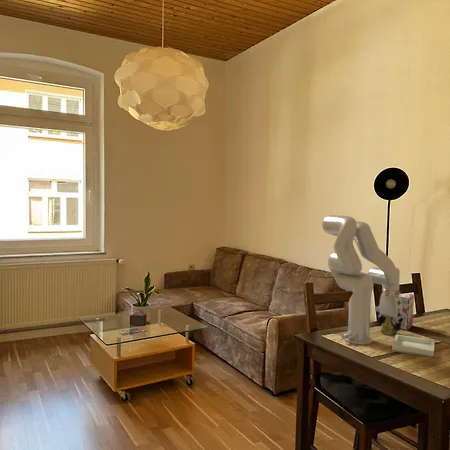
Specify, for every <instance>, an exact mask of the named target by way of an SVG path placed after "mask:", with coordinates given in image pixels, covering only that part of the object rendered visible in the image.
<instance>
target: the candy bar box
mask: <svg viewBox="0 0 450 450" xmlns="http://www.w3.org/2000/svg"><path fill="white" fill-rule="evenodd" d="M399 296H400V297H401V302H402V312H403V313H405V314H406V318H405V319H404V320H403V321H402V322H401V329H400V330H403V331H408V330H409V329H410V328H411V327H412V326H413V323H414V322H413V320H414V318H413V317H414V302H415V294H411V293H403V294H401V295H399ZM401 317H402V316H400V318H401Z"/></svg>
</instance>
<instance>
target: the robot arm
mask: <svg viewBox="0 0 450 450" xmlns="http://www.w3.org/2000/svg"><path fill="white" fill-rule="evenodd" d="M321 226H322V230H323V231H324V232H325V233H327V234H328V235H332V236H335V237H336V238H335V241H334V242H333V251H334V252H332V253H331V254H330V255H329V257H328V260H327V265H328V269H329V270H330V273H331V275H332V276H333V278H334V280H335V282H336V284H337V286H338V288H340V289H342V290H345V291H350V292H352V294H351V296H350V298H349V301H348V321H347V330H346V333H343V334H341V336H340V337H341V339H342V340H345V342H347V343H350V344H354V345H371V344H373V342H374V339H373V337H371V336H370V333H371V305H372V303H371V302H372V295H373V294H372V293H373V290H374V285H375V284H376V285H381V287H382V293H381V295H380V297H379V305H378V306H375V307H374V311H375V313H376V315H377V318H378V326H379V327H382V326H381V324H382V323H383V322H385V316H384V315H387V316H390V317H393V319H394V320H395V322H394V323H395V331H397V332H399V331H401V330H402V329H401V322H402V321H403V320H404V319H405V318H406V314H405V313H403V312H402V302H401V297H400V296H402V292H400V275H401V274H400V273H401V272H400V269H399V268H398V267H396V265H395V264H394V262H393V260H392V259H391V258H390V256H388V255H387V254H386V253H385V252H384V251H382V250H381V249H380V248H379V245H378V244H377V240H376V238H375V236H374V234H373V231H372V228H371V227H370V225H369V224H368V223H366V222H364V221H357V220H356V219H355V218H354V217H352V216H348V215H335V214H334V215H333V214H329V215H327V216H325V217H324V218H323V219H322V222H321ZM354 242H355V244H356V247H357V248H358V252H359V254H360V255H361V257H362V258H364V259H365V260H366V261H368V262H371V263H372V264H374V265H375V267H372V268H370V269H369V270H368V271H367V273H365V272H362V270H363V264H362V260H361V259H360V256H359V255H358V253H357V251H356V248H355V246H354ZM400 316H402V317H401V318H400Z"/></svg>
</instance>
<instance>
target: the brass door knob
mask: <svg viewBox="0 0 450 450" xmlns="http://www.w3.org/2000/svg"><path fill="white" fill-rule="evenodd" d="M383 317H384V318H385V319H386V320H384V322H383V323H382V324H381V326H380V327H381V328H380V333H381V334H382V335H384V336H389V337H390V336H391V337H395V336H396V335H398V331H395V323H396V322H395V321H394V318H393V317H390V316H387V315H384V316H383Z"/></svg>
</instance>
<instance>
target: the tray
mask: <svg viewBox="0 0 450 450" xmlns="http://www.w3.org/2000/svg"><path fill="white" fill-rule="evenodd" d="M435 341H436V340H435V339H429V338H425V337H424V338H423V337H416V336H410V335H404V334H403V335H402V334H397V335H395V336H394V340H393V341H392V347H391V350H392V352H394V353H400V354H405V355H406V354H407V355H413V356H418V357H424V358H425V357H426V358H431V359H434V357H435V355H434V354H435Z"/></svg>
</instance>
